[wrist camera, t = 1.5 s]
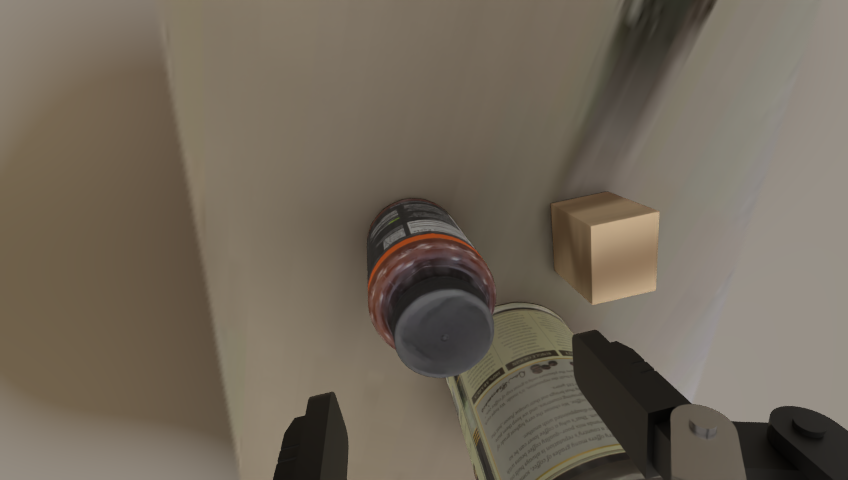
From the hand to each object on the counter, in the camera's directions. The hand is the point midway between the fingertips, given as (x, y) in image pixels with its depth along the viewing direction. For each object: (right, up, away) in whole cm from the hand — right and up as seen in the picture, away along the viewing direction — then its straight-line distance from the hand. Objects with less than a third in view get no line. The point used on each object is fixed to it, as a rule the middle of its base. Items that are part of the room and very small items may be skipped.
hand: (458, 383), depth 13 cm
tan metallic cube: (+10, +5, +14) cm, 18 cm away
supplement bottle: (-2, +5, +13) cm, 14 cm away
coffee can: (+5, -4, +17) cm, 19 cm away
